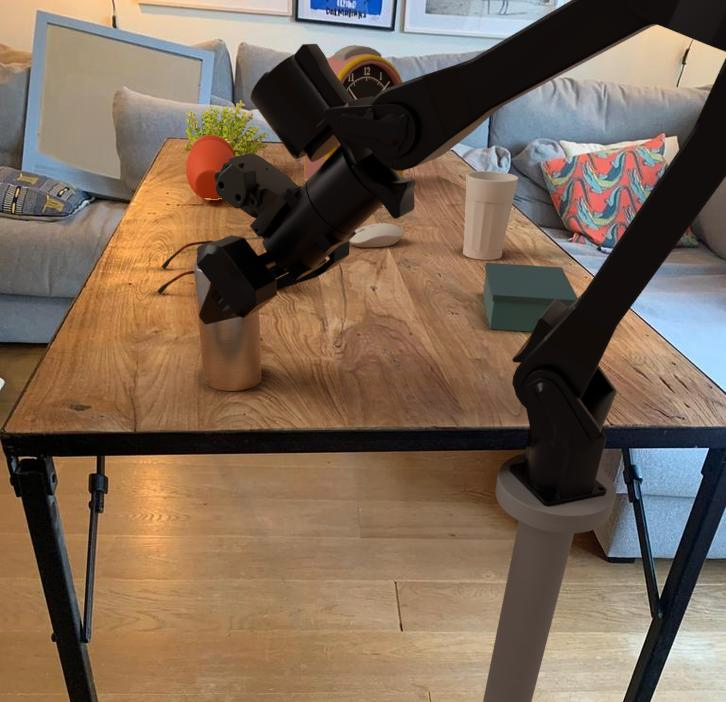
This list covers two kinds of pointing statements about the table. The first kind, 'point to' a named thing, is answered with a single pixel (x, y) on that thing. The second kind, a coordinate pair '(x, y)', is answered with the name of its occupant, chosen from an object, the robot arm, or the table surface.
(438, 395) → the table surface
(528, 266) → the lidded box
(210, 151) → the potted plant
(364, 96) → the alarm clock
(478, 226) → the cup
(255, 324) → the flask
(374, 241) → the computer mouse
